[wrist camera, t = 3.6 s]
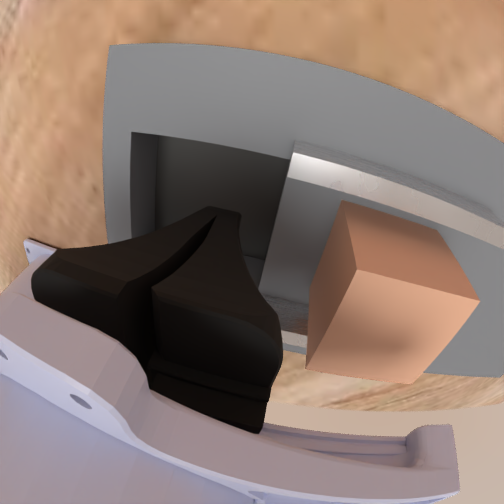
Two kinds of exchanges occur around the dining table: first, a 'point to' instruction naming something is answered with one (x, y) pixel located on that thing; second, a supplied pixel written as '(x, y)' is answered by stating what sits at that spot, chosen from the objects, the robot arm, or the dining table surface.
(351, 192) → the rails
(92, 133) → the dining table surface
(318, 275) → the block
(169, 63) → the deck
